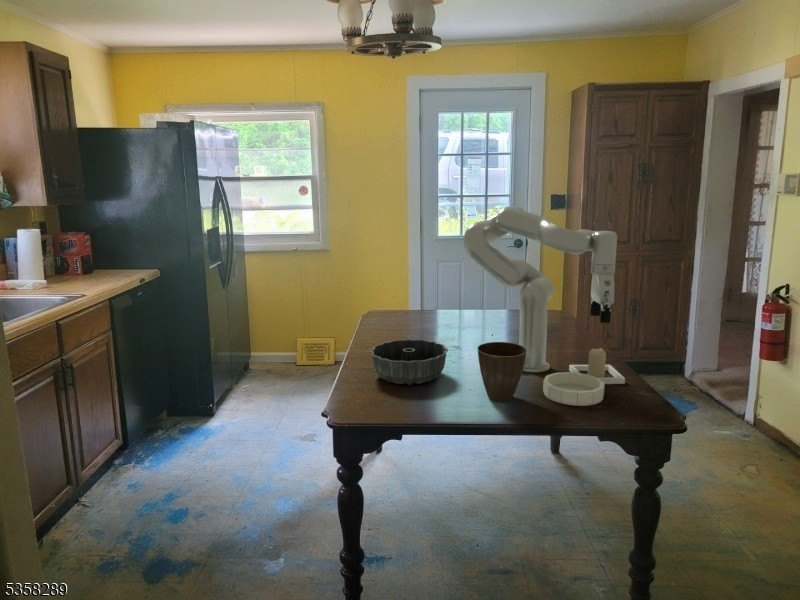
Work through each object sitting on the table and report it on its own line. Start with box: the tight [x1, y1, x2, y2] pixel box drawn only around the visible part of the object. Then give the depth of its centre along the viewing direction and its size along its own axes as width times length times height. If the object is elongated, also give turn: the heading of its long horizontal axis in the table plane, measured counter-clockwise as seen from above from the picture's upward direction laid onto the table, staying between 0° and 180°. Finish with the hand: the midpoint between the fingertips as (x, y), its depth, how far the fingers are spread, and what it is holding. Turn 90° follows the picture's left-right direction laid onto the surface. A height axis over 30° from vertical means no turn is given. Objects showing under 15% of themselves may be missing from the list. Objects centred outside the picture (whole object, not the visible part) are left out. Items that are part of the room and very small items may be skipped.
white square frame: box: [568, 364, 626, 385], centre depth 200 cm, size 14×14×2 cm
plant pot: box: [477, 341, 527, 403], centre depth 180 cm, size 15×15×16 cm
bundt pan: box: [369, 338, 449, 386], centre depth 201 cm, size 26×26×10 cm
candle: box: [587, 347, 607, 378], centre depth 199 cm, size 6×6×10 cm
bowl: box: [542, 371, 606, 407], centre depth 184 cm, size 18×18×4 cm
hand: (599, 319), depth 196 cm, fingers open, 9 cm apart
